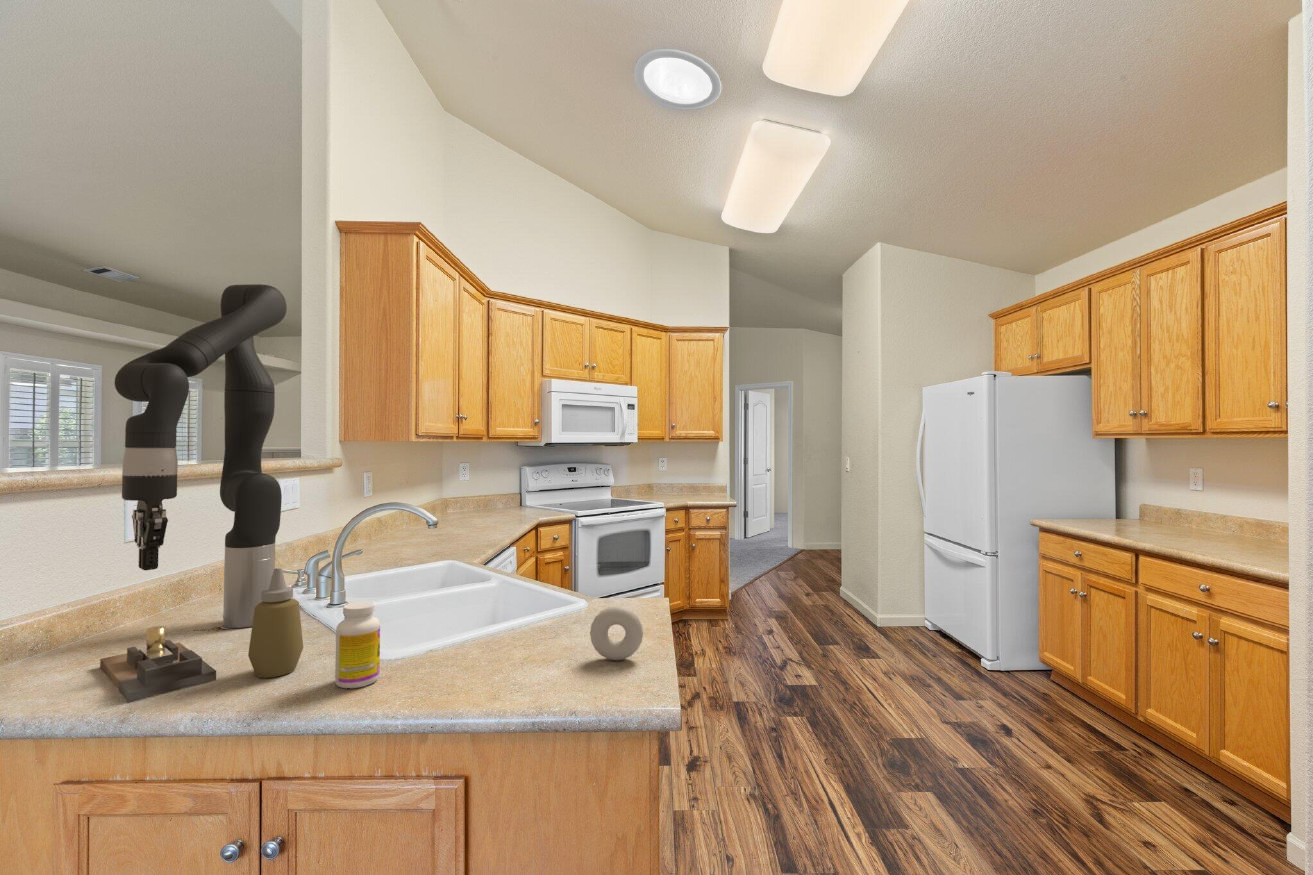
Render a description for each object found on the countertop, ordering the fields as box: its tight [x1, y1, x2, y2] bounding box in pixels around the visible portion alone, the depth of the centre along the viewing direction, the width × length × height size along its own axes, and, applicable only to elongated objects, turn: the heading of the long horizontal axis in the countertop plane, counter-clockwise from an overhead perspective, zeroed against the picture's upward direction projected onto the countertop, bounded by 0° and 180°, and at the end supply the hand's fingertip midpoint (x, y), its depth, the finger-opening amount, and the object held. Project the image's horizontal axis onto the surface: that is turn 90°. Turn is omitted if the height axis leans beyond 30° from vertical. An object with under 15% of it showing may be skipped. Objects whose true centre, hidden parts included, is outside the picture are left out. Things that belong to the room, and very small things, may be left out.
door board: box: [99, 639, 217, 703], centre depth 99 cm, size 11×22×4 cm, turn 52°
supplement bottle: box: [334, 601, 381, 689], centre depth 97 cm, size 7×7×13 cm
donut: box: [589, 605, 644, 661], centre depth 108 cm, size 10×4×10 cm, turn 90°
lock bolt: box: [138, 625, 173, 667], centre depth 100 cm, size 3×8×6 cm, turn 52°
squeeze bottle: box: [247, 567, 304, 679], centre depth 100 cm, size 8×8×18 cm
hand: (148, 568), depth 104 cm, fingers closed
